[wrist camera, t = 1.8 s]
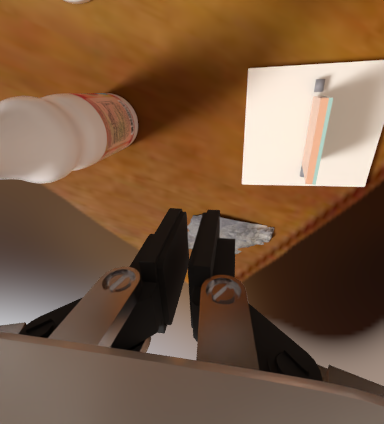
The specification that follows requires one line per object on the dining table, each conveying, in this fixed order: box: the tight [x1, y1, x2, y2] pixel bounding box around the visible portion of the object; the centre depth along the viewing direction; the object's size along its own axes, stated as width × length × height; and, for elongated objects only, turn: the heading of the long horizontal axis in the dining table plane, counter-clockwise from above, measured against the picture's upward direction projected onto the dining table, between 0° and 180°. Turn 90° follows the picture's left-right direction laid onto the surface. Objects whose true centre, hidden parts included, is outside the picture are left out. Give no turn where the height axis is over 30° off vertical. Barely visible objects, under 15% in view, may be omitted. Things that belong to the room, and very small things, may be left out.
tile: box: [302, 96, 333, 185], centre depth 32 cm, size 10×10×1 cm
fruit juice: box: [0, 93, 138, 183], centre depth 30 cm, size 9×9×28 cm
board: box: [242, 60, 384, 187], centre depth 37 cm, size 18×20×2 cm
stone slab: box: [187, 215, 274, 254], centre depth 50 cm, size 18×2×10 cm
